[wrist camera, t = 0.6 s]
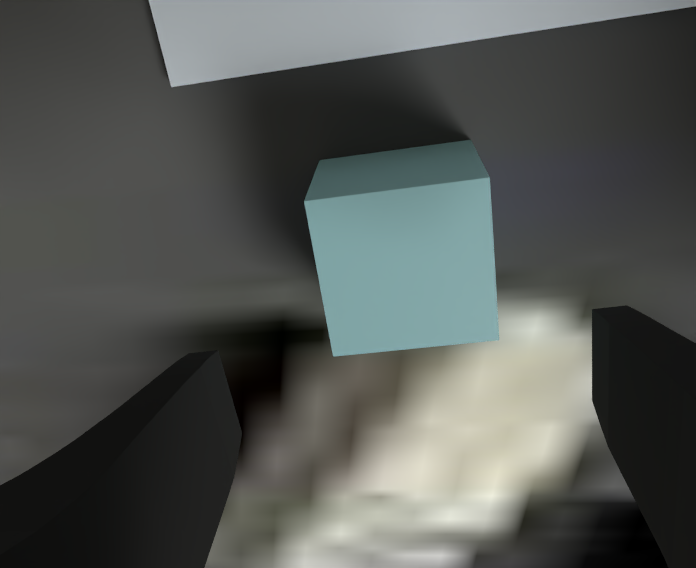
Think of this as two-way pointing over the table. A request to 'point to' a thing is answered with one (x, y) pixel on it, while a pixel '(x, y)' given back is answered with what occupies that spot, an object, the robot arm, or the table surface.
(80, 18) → the table surface
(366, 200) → the teal block
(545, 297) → the table surface
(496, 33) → the board
